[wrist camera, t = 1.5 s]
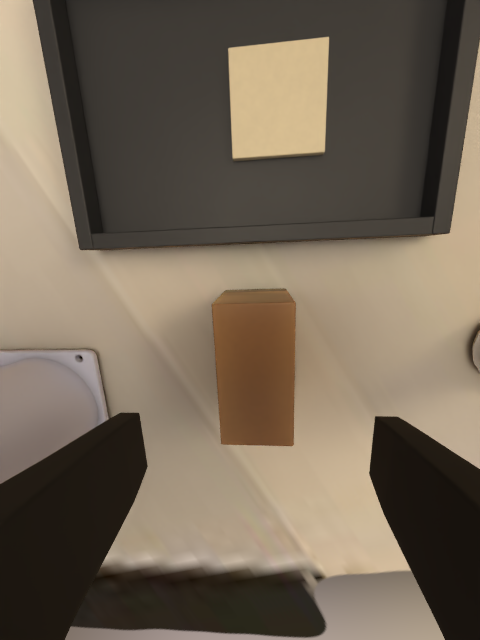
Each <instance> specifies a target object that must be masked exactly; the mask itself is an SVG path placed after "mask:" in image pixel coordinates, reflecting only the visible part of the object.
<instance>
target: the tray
mask: <svg viewBox="0 0 480 640" xmlns="http://www.w3.org/2000/svg"><path fill="white" fill-rule="evenodd" d="M33 3H34V9H35V14H36V19H37V25H38V30H39V35H40V41H41V46H42V51H43V57H44V62H45V67H46V73H47V78H48V83H49V89H50V94H51V99H52V105H53V110H54V115H55V120H56V126H57V131H58V136H59V142H60V147H61V152H62V158H63V163H64V168H65V174H66V179H67V184H68V190H69V195H70V200H71V206H72V211H73V216H74V222H75V227H76V232H77V238H78V243H79V248H80V250H118V249H141V248H163V247H186V246H208V245H231V244H253V243H276V242H298V241H321V240H344V239H366V238H389V237H411V236H430V235H439V234H448V233H450V228H451V221H452V215H453V208H454V202H455V195H456V189H457V183H458V176H459V170H460V163H461V157H462V150H463V144H464V138H465V131H466V125H467V118H468V112H469V105H470V99H471V93H472V86H473V80H474V73H475V67H476V60H477V54H478V48H479V41H480V0H33ZM323 37H329V56H328V82H327V109H326V135H325V152H324V154H323V155H313V156H299V157H285V158H271V159H258V160H244V161H233V158H232V135H231V111H230V87H229V63H228V48H232V47H241V46H250V45H259V44H268V43H278V42H287V41H296V40H305V39H314V38H323Z"/></svg>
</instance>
